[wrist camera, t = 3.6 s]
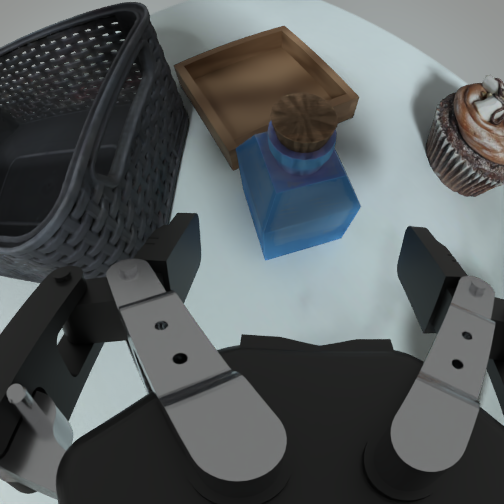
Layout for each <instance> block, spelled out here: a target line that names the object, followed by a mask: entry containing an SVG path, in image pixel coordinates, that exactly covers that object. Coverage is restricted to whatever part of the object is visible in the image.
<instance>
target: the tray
mask: <svg viewBox="0 0 504 504" xmlns="http://www.w3.org/2000/svg"><path fill="white" fill-rule="evenodd" d="M174 68H175V71H176V74H177V77H178V80H179V83H180V85H181V87H182V88H183V90H184V92H185V93H186V95H187V96H188V98H189V100H190V101H191V103H192V104H193V106H194V108H195V109H196V111H197V112H198V114H199V116H200V117H201V119H202V120H203V122H204V124H205V125H206V127H207V129H208V130H209V132H210V133H211V135H212V137H213V138H214V140H215V142H216V143H217V145H218V147H219V148H220V150H221V151H222V153H223V155H224V156H225V158H226V160H227V161H228V163H229V165H230V166H231V168H232V170H233V171H234V170H236V169H238V168H239V163H238V158H237V152H236V148H237V147H238V146H239V145H241V144H242V143H244V142H245V141H246V140H248V139H249V138H251V137H252V136H254V135H255V134H259V133H263V132H267V131H268V127H269V122H270V121H271V117H270V114H271V110H272V107H273V106H274V104H275V103H276V102H277V101H278V100H279V99H281V98H282V97H284V96H286V95H289V94H293V93H308V94H313V95H316V96H318V97H321V98H323V99H324V100H325V101H327V102H328V103H330V105H331V106H332V107H333V109H334V110H335V112H336V115H337V118H338V120H337V124H338V123H340V122H343V121H345V120H348V119H350V118H353V116H354V112H355V109H356V106H357V103H358V99H359V96H358V95H357V94H356V93H355V92H354V91H353V90H352V89H351V88H350V87H349V86H348V85H347V84H346V83H345V82H344V81H343V80H342V78H341V77H340V76H339V75H338V74H337V73H336V72H335V71H334V70H333V69H332V68H330V67H329V66H328V65H327V64H326V63H325V62H324V61H323V60H322V59H321V58H320V57H319V56H318V55H317V54H316V53H315V52H314V51H313V50H311V49H310V48H309V47H308V46H307V45H306V44H305V43H304V42H303V41H301V40H300V39H299V38H298V37H297V36H296V35H295V34H293V33H292V32H291V31H290V30H289V29H288V28H286V27H285V26H281V27H278V28H274V29H271V30H267V31H264V32H261V33H258V34H254V35H251V36H248V37H245V38H242V39H239V40H236V41H233V42H231V43H228V44H225V45H222V46H220V47H217V48H214V49H212V50H209V51H207V52H204V53H202V54H199V55H197V56H194V57H192V58H189V59H187V60H185V61H182V62H180V63H178V64H176V65H174Z"/></svg>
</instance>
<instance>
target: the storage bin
mask: <svg viewBox="0 0 504 504" xmlns="http://www.w3.org/2000/svg"><path fill="white" fill-rule="evenodd" d="M113 22H118V24H111V23H113ZM98 26H104V27H102V28H99V29H98ZM87 29H91V31H87V32H86V31H85V30H87ZM115 31H121V32H120V33H117V34H116V33H115ZM74 33H79V34H77V35H75V36H73V34H74ZM106 33H108V34H109V35H108V36H102V35H103V34H106ZM50 34H51V35H50ZM64 36H66V37H67V38H66V39H61V38H62V37H64ZM92 37H95V39H92V40H90V39H89V38H92ZM37 39H38V40H37ZM121 39H125V41H120V40H121ZM54 40H55V41H56V42H54V43H51V41H54ZM81 40H83V42H82V43H77V42H78V41H81ZM107 42H112V43H111V44H108V45H107V44H106V43H107ZM42 44H45V46H42V47H41V46H40V45H42ZM68 44H70V45H71V46H69V47H66V45H68ZM98 44H99V45H100V47H94V46H95V45H98ZM18 47H19V48H18ZM32 48H35V50H33V51H31V49H32ZM56 48H60V50H55V49H56ZM85 48H87V50H84V51H82V49H85ZM12 50H13V51H12ZM112 50H117V52H111V51H112ZM24 51H26V54H22V53H23V52H24ZM74 51H75V52H76V53H74V54H71V53H72V52H74ZM45 52H50V53H47V54H45ZM98 53H104V54H102V55H98ZM16 55H17V56H18V57H16V58H14V57H13V56H16ZM36 55H40V57H35V56H36ZM61 55H65V56H64V57H61V58H60V56H61ZM90 55H91V56H92V57H90V58H86V57H87V56H90ZM29 58H30V59H31V60H29V61H27V60H26V59H29ZM52 58H54V59H55V60H50V59H52ZM7 59H9V61H6V60H7ZM76 59H80V60H79V61H75V60H76ZM105 60H108V62H102V61H105ZM21 61H22V63H21V64H18V63H19V62H21ZM40 62H45V63H43V64H40ZM66 62H69V64H64V63H66ZM0 63H2V64H0V85H2V86H0V104H2V105H0V276H5V277H10V278H15V279H20V280H25V281H31V282H37V283H41V282H42V281H43V280H44V279H45V278H46V277H47V276H48V275H49V274H50V273H51V272H53V271H54V270H56V269H58V268H61V267H65V266H77V267H80V268H81V269H82V270H83V274H84V277H85V279H92V278H101V277H107V276H106V273H107V270H108V269H109V268H110V267H111V266H112V265H113V264H115V263H117V262H119V261H122V260H126V259H133V258H134V256H135V255H136V254H137V252H138V251H139V250H140V248H141V247H142V246H143V244H145V242H146V241H147V239H149V237H150V235H151V234H152V233H153V232H154V230H156V229H158V228H159V227H161V226H163V225H168V219H169V214H170V208H171V203H172V197H173V192H174V187H175V182H176V177H177V172H178V168H179V163H180V158H181V154H182V149H183V145H184V140H185V136H186V132H187V128H188V115H187V112H186V109H185V108H184V106H183V101H182V99H181V96H180V94H179V93H178V91H177V86H176V83H175V81H174V79H173V78H172V75H171V70H170V68H169V65H168V63H167V62H166V60H165V57H164V52H163V49H162V47H161V45H160V44H159V42H158V39H157V34H156V32H155V29H154V27H153V26H152V24H151V22H150V15H149V12H148V9H147V7H146V6H145V5H143V4H141V3H137V2H126V3H120V4H115V5H111V6H107V7H103V8H100V9H96V10H93V11H89V12H86V13H83V14H80V15H77V16H74V17H72V18H69V19H66V20H63V21H60V22H58V23H55V24H53V25H50V26H47V27H45V28H42V29H40V30H37V31H35V32H33V33H30V34H28V35H26V36H24V37H21V38H19V39H17V40H15V41H13V42H11V43H9V44H7V45H5V46H3V47H1V48H0ZM92 63H96V64H95V65H92V66H91V64H92ZM133 63H136V64H135V65H133ZM34 64H35V65H36V66H35V67H32V65H34ZM12 65H14V67H10V66H12ZM57 65H58V67H56V68H55V67H54V66H57ZM81 66H85V67H84V68H80V67H81ZM4 68H6V69H7V70H3V69H4ZM24 68H27V69H26V70H23V69H24ZM46 68H49V69H50V70H45V69H46ZM106 68H109V70H107V69H106ZM69 69H74V70H72V71H69ZM97 70H100V72H95V71H97ZM139 70H140V72H135V71H139ZM16 71H19V72H18V73H15V72H16ZM38 71H39V72H40V73H36V72H38ZM60 72H64V73H60ZM59 73H60V74H59ZM84 73H89V74H87V75H84ZM8 74H11V75H10V76H8ZM29 74H32V75H31V76H28V75H29ZM49 75H54V76H52V77H50V76H49ZM76 75H78V77H73V76H76ZM1 77H4V78H1ZM20 77H23V78H22V79H20ZM42 77H45V79H41V78H42ZM100 77H104V78H102V79H99V78H100ZM65 78H68V79H67V80H64V79H65ZM138 78H142V79H138ZM91 79H93V81H88V80H91ZM128 79H131V80H132V81H126V80H128ZM12 80H16V81H12ZM34 80H35V82H33V81H34ZM55 81H58V82H55ZM27 82H28V84H25V83H27ZM78 82H82V83H80V84H78ZM5 83H8V84H5ZM45 84H48V85H45ZM70 84H72V86H68V85H70ZM39 85H40V86H41V87H37V86H39ZM17 86H19V87H17ZM93 86H97V87H94V88H93ZM133 86H135V87H133ZM11 87H13V89H10V88H11ZM59 87H63V88H59ZM130 87H133V88H130ZM84 88H87V89H84ZM122 88H124V89H122ZM29 89H31V90H29ZM50 89H54V90H50ZM23 90H24V91H25V92H22V91H23ZM4 91H5V92H4ZM73 91H75V92H73ZM42 92H44V93H42ZM64 92H67V93H66V94H64ZM97 92H98V93H97ZM14 93H17V94H14ZM36 93H37V95H34V94H36ZM133 93H136V94H133ZM86 94H90V95H86ZM123 94H124V96H122V95H123ZM9 95H11V96H9ZM54 95H57V96H54ZM26 96H28V97H26ZM78 96H81V97H78ZM46 97H50V98H46ZM2 98H3V99H2ZM19 98H23V99H19ZM68 98H70V99H68ZM38 99H41V100H38ZM93 99H94V100H93ZM12 100H13V101H12ZM59 100H63V101H59ZM126 100H127V101H126ZM31 101H34V102H31ZM81 101H85V102H81ZM6 102H9V103H6ZM72 103H76V104H72ZM63 105H65V106H63ZM57 106H58V107H57ZM85 106H86V107H85ZM49 108H50V109H49ZM32 112H34V113H32ZM10 113H11V114H10ZM37 116H38V117H37ZM24 119H26V120H24Z"/></svg>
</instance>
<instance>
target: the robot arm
mask: <svg viewBox="0 0 504 504" xmlns="http://www.w3.org/2000/svg"><path fill="white" fill-rule="evenodd" d="M200 261H201V243H200V229H199V218H198V214H197V213H177V214H176V216H175V217H174V218H173V220H172V221H171V222H170V224H169V225H163V226H161V227H159V228H158V229H156V230H154V232H153V233H152V234H151V235H150V237H149V239H147V241H146V242H145V244H143V246H142V247H141V248H140V250H139V251H138V252H137V254H136V255H135V256H134V258H133V259H126V260H122V261H119V262H117V263H115V264H113V265H112V266H111V267H110V268H109V269H108V270H107V273H106V276H107V277H101V278H92V279H85V277H84V274H83V270H82V269H81V268H80V267H77V266H65V267H61V268H58V269H56V270H54V271H53V272H51V273H50V274H49V275H48V276H47V277H46V278H45V279H44V280H43V281H42V282H41V284H40V285H39V286H38V287H37V288H36V290H35V291H34V292H33V293H32V294H31V296H30V297H29V298H28V299H27V301H26V302H25V303H24V304H23V306H22V307H21V308H20V309H19V311H18V312H17V313H16V314H15V316H14V317H13V318H12V320H11V321H10V322H9V324H8V325H7V326H6V328H5V329H4V330H3V332H2V333H1V334H0V479H1V480H3V481H6V482H7V483H8V484H10V485H11V486H12V487H14V488H15V489H17V490H18V491H20V492H22V493H27V494H30V493H34V492H37V491H38V492H40V493H42V494H45V495H47V496H49V497H52V498H54V499H57V500H58V504H504V426H503V425H502V424H500V423H499V422H498V421H497V420H496V419H494V418H493V417H492V416H491V415H489V414H488V413H487V412H486V411H485V410H483V409H482V408H481V407H480V403H479V402H478V397H479V394H480V390H481V386H482V383H483V379H484V375H485V371H486V369H487V372H488V374H489V377H490V379H491V382H492V384H493V387H494V390H495V392H496V395H497V398H498V401H499V403H500V406H501V409H502V412H503V415H504V299H500V298H496V297H495V292H494V290H493V288H492V287H491V286H490V285H489V284H488V283H487V282H485V281H483V280H482V279H480V278H477V277H473V276H468V275H467V274H466V273H465V271H464V270H463V269H462V267H461V266H460V265H459V263H458V262H456V259H455V258H454V257H453V256H452V254H451V253H450V252H449V250H448V249H447V248H446V247H445V246H444V245H442V244H441V243H439V242H438V241H437V240H436V239H435V238H434V237H433V235H432V234H431V233H430V232H429V230H428V229H427V228H423V227H412V226H409V227H407V229H406V231H405V235H404V239H403V243H402V247H401V252H400V256H399V260H398V265H397V273H398V277H399V280H400V282H401V284H402V286H403V288H404V290H405V292H406V295H407V297H408V299H409V301H410V303H411V306H412V308H413V310H414V312H415V315H416V317H417V319H418V322H419V324H420V326H421V329H422V331H423V333H437V336H436V338H435V340H434V342H433V344H432V346H431V348H430V351H429V353H428V355H427V357H426V359H425V361H424V362H423V361H421V360H419V359H417V358H415V357H413V356H411V355H409V354H406V353H403V352H400V351H395V350H393V346H392V343H391V340H390V339H356V340H350V341H345V342H340V343H334V344H328V345H322V346H318V345H313V344H308V343H304V342H299V341H295V340H291V339H287V338H282V337H273V336H257V335H243V334H242V336H241V342H240V345H238V346H232V347H227V348H223V349H220V350H216V349H215V347H214V346H213V345H212V343H211V342H210V341H209V339H208V338H207V336H206V335H205V334H204V332H203V331H202V329H201V328H200V327H199V325H198V324H197V322H196V321H195V320H194V318H193V317H192V315H191V314H190V312H189V311H188V310H187V308H186V307H185V305H184V302H185V299H186V297H187V294H188V292H189V290H190V287H191V285H192V282H193V280H194V278H195V275H196V273H197V271H198V268H199V266H200ZM61 328H63V331H64V335H63V337H62V338H61V340H60V342H59V343H58V345H57V336H58V333H59V332H60V330H61ZM123 340H125V341H126V344H127V346H128V349H129V351H130V354H131V356H132V358H133V361H134V363H135V366H136V368H137V370H138V373H139V375H140V377H141V380H142V382H143V384H144V387H145V389H146V392H147V395H146V396H144V397H143V398H141V399H140V400H138V401H137V402H135V403H134V404H132V405H131V406H129V407H128V408H126V409H125V410H123V411H121V412H120V413H118V414H117V415H115V416H114V417H112V418H111V419H109V420H107V421H106V422H104V423H103V424H101V425H99V426H98V427H96V428H95V429H93V430H91V431H90V432H88V433H86V434H85V435H83V436H82V437H80V438H79V439H77V440H76V441H75V442H74V443H73V444H72V441H73V430H72V427H71V425H70V423H69V422H68V421H69V419H70V417H71V414H72V412H73V409H74V407H75V405H76V403H77V400H78V398H79V396H80V393H81V391H82V389H83V387H84V384H85V382H86V380H87V378H88V376H89V374H90V371H91V369H92V367H93V365H94V363H95V361H96V359H97V357H98V354H99V352H100V350H101V348H102V346H103V344H104V342H113V341H123Z"/></svg>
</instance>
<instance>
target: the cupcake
mask: <svg viewBox="0 0 504 504" xmlns="http://www.w3.org/2000/svg"><path fill="white" fill-rule="evenodd" d="M426 151H427V157H428V160H429V163H430V166H431V167H432V169H433V171H434V173H435V174H436V175H437V176H438V177H439V179H440V180H441V182H442V183H443V184H444V185H446V186H447V187H448V188H449V189H451V190H452V191H454V192H458V193H459V194H461V195H463V196H467V197H468V196H473V197H476V196H478V195H480V194H482V193H484V192H486V191H488V190H490V189H492V188H495V187H497V186H500V185H504V83H503V82H502V81H501V79H499V78H494V77H493V76H491V75H487V76H486V77H485V79H484V80H483V83H475V84H470V85H466V86H463V87H461V88H460V89H459V90H458V91H457V92H456V93H453V94H450V95H448V96H447V97H446V98H445V99H442V101H441V102H440V104H438V106H437V109H436V114H435V117H434V120H433V124H432V126H431V129H430V133H429V137H428V140H427V143H426Z"/></svg>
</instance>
